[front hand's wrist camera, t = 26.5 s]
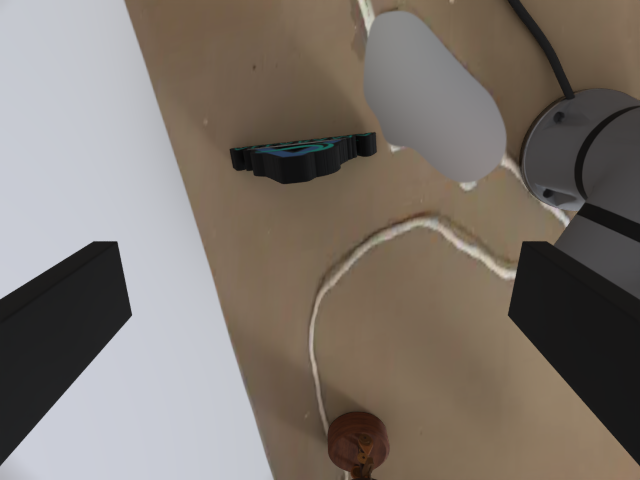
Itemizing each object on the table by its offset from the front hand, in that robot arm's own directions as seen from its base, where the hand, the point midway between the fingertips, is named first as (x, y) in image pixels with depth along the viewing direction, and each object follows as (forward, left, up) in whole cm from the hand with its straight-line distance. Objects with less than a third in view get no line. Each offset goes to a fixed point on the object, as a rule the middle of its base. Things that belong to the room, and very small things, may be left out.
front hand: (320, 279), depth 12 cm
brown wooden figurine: (+51, +3, -39) cm, 65 cm away
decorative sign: (0, -2, -39) cm, 39 cm away
